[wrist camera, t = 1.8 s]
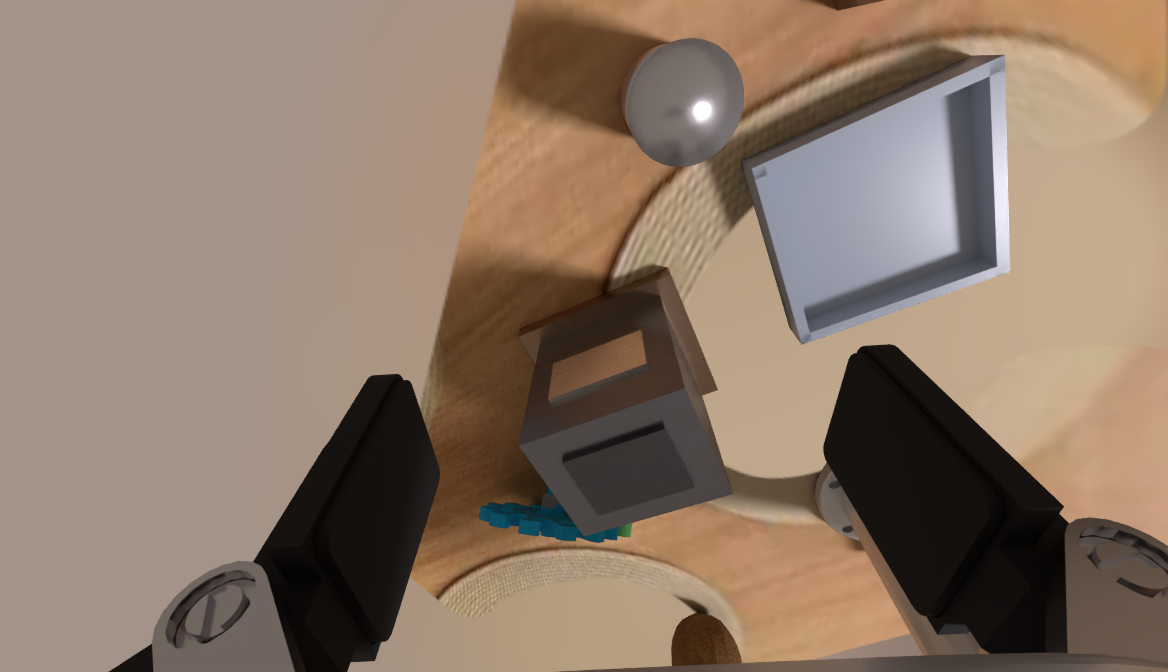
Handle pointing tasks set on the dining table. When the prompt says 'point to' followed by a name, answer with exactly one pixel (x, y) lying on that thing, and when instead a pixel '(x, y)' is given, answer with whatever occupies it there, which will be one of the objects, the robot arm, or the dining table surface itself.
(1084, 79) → the dining table surface
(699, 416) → the box with rectangular openings
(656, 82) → the metal cylinder
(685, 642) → the fruit
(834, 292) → the tray
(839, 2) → the block
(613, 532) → the blue green-pegged part
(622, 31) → the dining table surface
